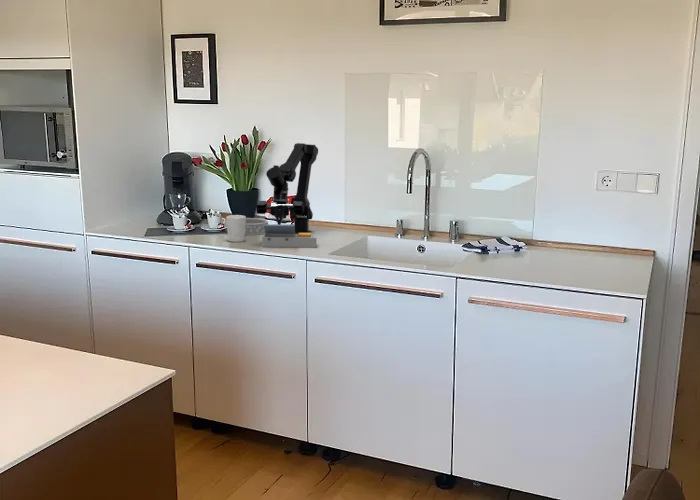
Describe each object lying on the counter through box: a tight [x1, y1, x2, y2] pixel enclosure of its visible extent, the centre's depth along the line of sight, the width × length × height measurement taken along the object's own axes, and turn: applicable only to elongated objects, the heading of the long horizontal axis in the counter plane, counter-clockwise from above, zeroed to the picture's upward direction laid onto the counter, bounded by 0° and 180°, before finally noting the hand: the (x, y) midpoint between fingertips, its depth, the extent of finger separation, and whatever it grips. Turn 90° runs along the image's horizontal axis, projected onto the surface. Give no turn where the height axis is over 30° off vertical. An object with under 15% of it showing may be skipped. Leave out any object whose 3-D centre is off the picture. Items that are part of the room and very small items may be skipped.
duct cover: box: [264, 223, 296, 235], centre depth 290 cm, size 9×12×1 cm
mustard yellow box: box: [297, 232, 312, 237], centre depth 300 cm, size 4×5×4 cm
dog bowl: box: [245, 217, 269, 237], centre depth 318 cm, size 17×18×5 cm
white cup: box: [225, 214, 247, 243], centre depth 298 cm, size 8×8×10 cm
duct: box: [261, 233, 317, 249], centre depth 291 cm, size 8×22×4 cm, turn 93°
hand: (279, 224), depth 286 cm, fingers closed, pressing on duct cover
